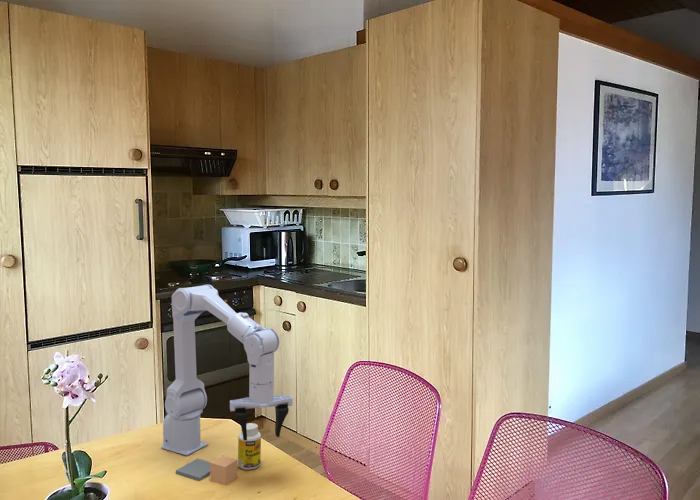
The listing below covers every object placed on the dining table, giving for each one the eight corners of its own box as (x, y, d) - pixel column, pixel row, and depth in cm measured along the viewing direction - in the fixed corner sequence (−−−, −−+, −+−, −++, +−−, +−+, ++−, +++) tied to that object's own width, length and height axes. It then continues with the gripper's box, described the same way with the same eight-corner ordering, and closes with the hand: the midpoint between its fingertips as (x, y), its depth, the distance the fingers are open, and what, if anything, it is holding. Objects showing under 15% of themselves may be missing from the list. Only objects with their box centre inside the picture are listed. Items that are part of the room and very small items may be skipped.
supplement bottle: (243, 472, 140) (243, 432, 139) (234, 463, 144) (234, 424, 144) (264, 467, 143) (264, 427, 142) (255, 458, 148) (255, 420, 147)
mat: (175, 473, 139) (175, 470, 139) (197, 461, 145) (197, 458, 145) (199, 481, 135) (199, 477, 135) (220, 468, 142) (220, 465, 142)
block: (210, 480, 136) (210, 462, 135) (222, 473, 140) (222, 455, 139) (225, 485, 134) (225, 467, 133) (237, 477, 138) (237, 459, 137)
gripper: (231, 388, 129) (231, 447, 130) (295, 383, 133) (294, 440, 134) (229, 379, 136) (228, 434, 137) (289, 375, 140) (289, 429, 141)
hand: (261, 437), depth 136 cm, fingers open, 7 cm apart
